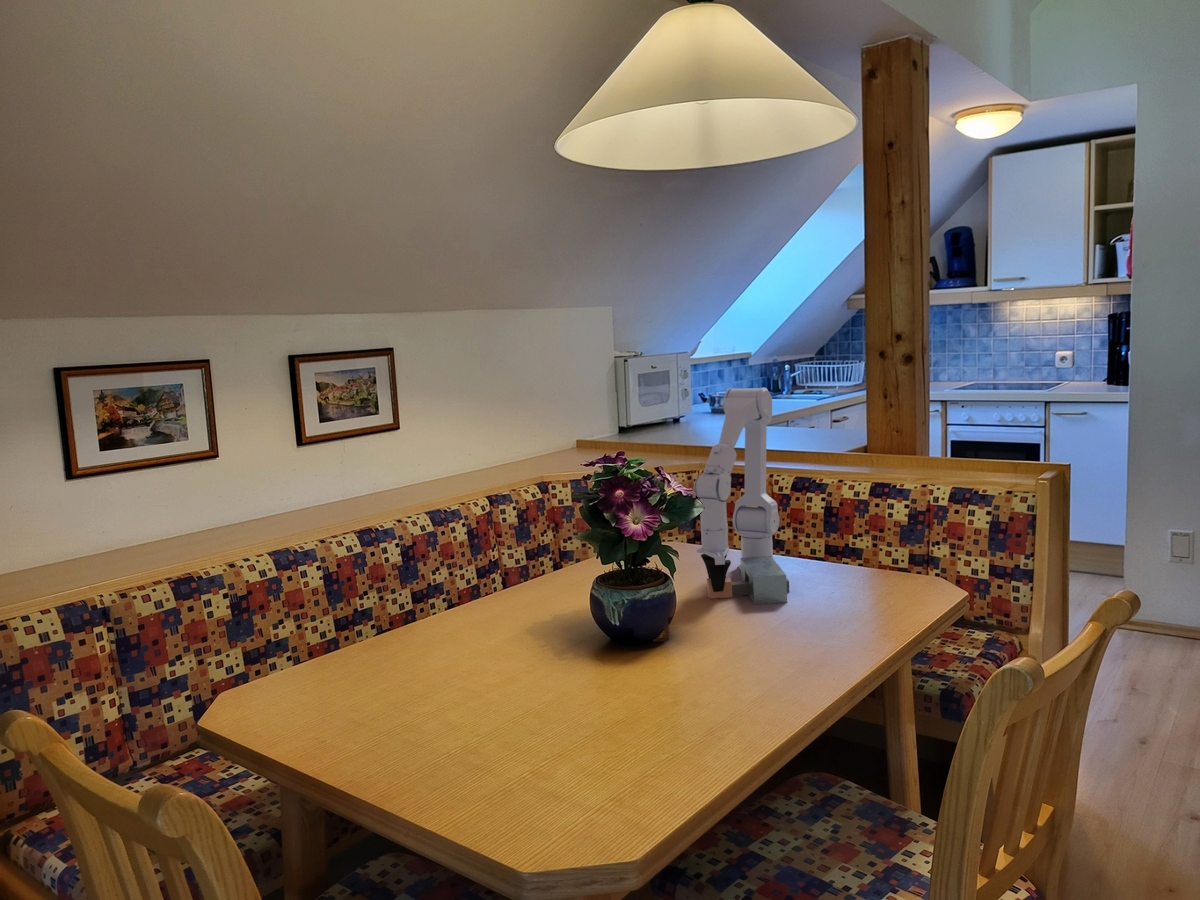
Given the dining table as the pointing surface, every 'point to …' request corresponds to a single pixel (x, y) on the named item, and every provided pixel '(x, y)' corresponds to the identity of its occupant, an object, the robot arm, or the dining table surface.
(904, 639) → the dining table surface
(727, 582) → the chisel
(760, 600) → the block
